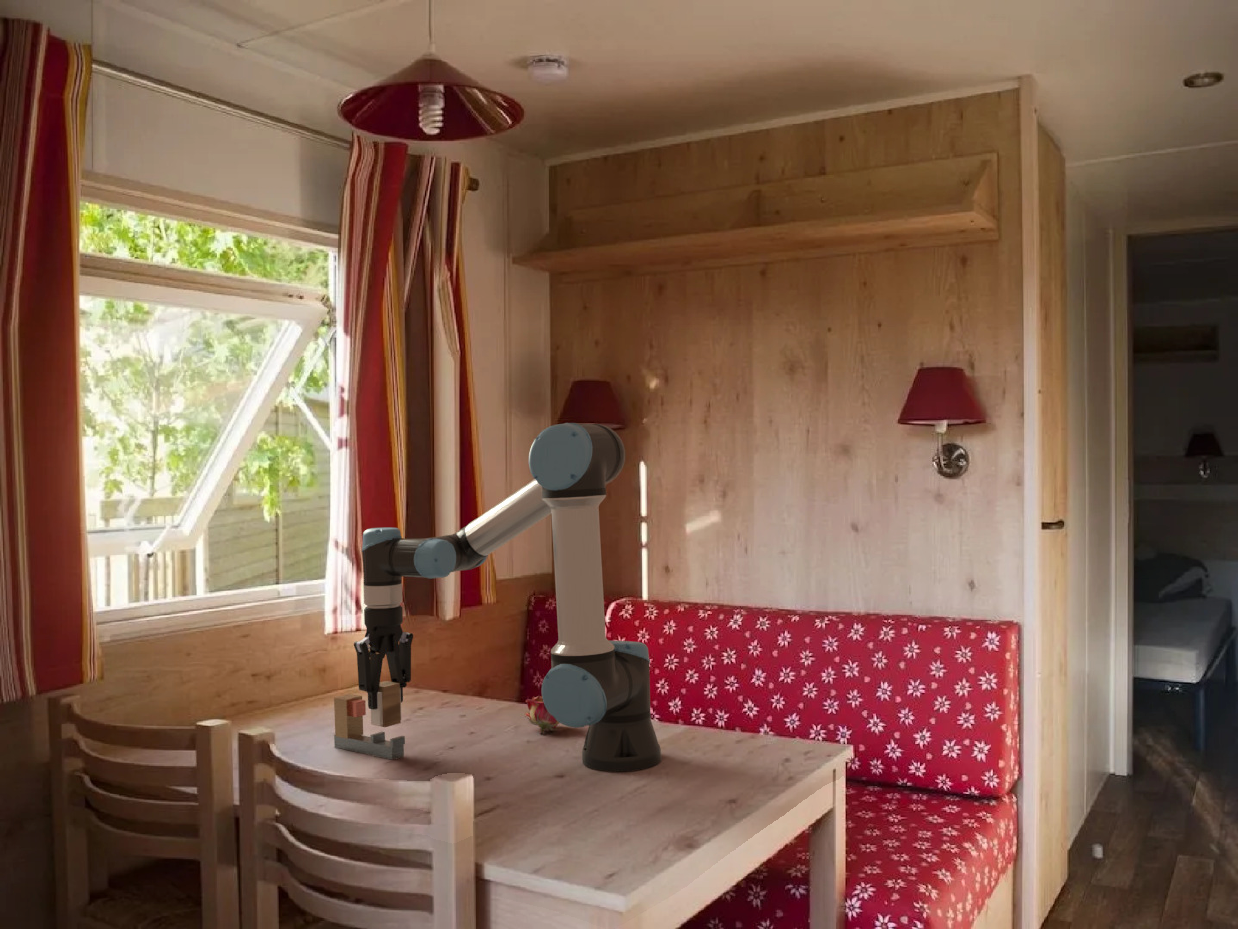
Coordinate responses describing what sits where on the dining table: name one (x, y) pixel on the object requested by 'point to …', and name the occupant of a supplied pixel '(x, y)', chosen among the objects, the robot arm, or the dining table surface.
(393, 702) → the walnut finger
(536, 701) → the flower
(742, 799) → the dining table surface
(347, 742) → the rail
